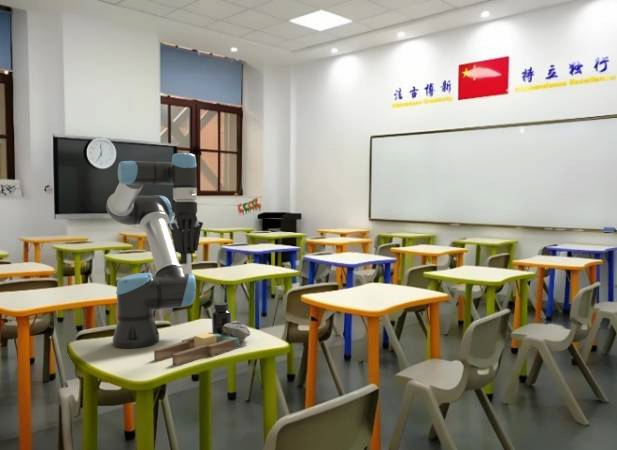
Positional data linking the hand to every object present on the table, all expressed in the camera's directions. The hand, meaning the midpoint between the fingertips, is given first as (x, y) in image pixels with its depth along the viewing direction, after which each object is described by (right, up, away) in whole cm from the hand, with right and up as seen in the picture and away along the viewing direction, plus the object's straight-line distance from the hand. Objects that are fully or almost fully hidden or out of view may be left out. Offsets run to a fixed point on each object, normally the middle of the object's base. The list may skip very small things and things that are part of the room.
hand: (187, 273), depth 165 cm
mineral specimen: (+15, -24, +6) cm, 29 cm away
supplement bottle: (+9, -24, +13) cm, 29 cm away
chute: (+4, -25, -6) cm, 26 cm away
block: (+7, -25, -3) cm, 26 cm away
